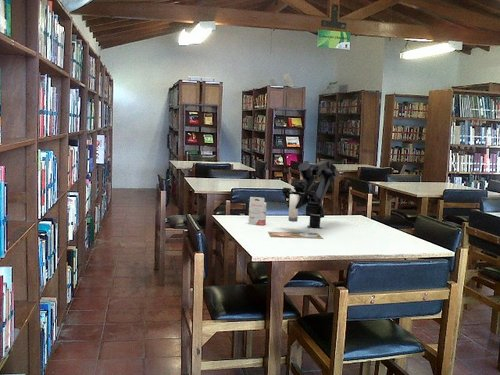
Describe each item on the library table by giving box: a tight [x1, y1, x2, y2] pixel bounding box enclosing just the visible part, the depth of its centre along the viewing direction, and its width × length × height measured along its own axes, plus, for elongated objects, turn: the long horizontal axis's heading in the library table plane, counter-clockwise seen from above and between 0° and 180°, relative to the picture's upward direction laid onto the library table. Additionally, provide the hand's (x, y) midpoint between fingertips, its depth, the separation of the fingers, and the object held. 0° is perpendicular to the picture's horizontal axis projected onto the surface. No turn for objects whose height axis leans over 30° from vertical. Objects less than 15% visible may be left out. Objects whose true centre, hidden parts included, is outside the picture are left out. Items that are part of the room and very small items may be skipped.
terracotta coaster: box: [272, 231, 291, 237], centre depth 245 cm, size 9×9×1 cm
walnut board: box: [267, 231, 324, 240], centre depth 245 cm, size 13×25×1 cm, turn 95°
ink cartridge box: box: [247, 196, 267, 226], centre depth 274 cm, size 9×5×15 cm, turn 74°
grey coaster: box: [299, 232, 318, 239], centre depth 246 cm, size 9×9×1 cm
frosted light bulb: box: [288, 194, 300, 223], centre depth 250 cm, size 4×4×13 cm
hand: (292, 207), depth 249 cm, fingers closed on frosted light bulb, 4 cm apart
